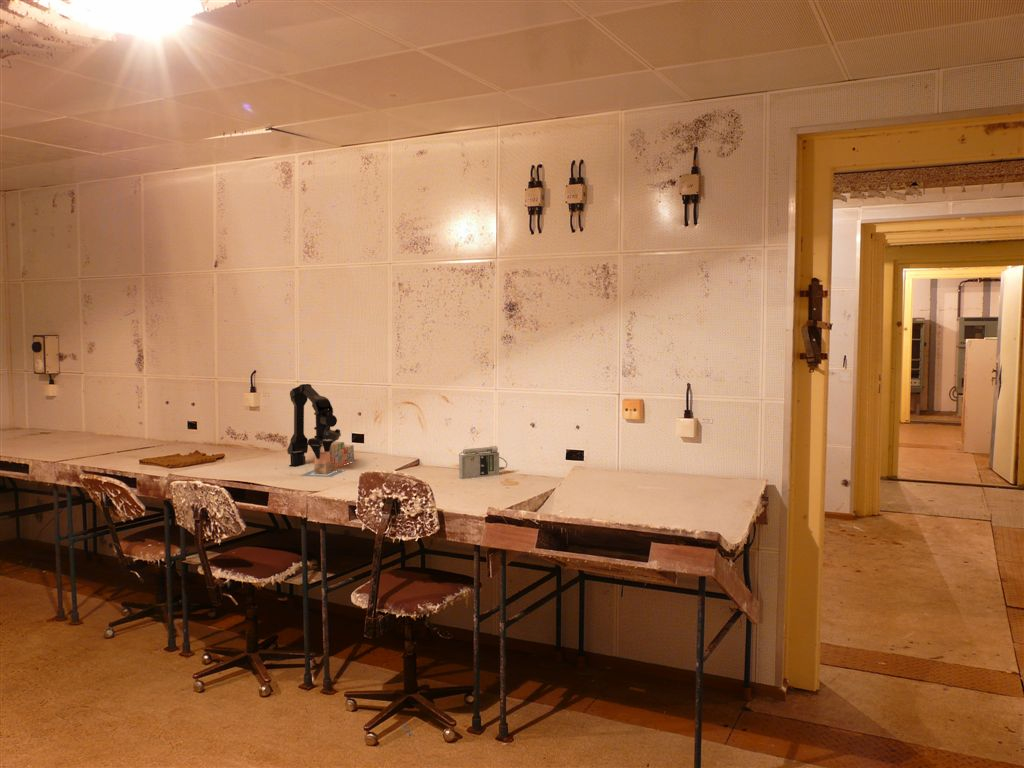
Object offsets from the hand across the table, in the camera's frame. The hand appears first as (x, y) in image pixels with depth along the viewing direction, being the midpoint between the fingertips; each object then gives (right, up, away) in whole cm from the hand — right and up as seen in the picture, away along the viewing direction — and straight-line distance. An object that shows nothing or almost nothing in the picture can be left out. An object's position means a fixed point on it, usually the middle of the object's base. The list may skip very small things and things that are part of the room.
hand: (322, 457), depth 378 cm
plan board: (0, -8, +1) cm, 8 cm away
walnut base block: (0, -8, +1) cm, 8 cm away
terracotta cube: (0, -3, 0) cm, 3 cm away
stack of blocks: (+2, -7, +22) cm, 23 cm away
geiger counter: (+77, -9, -5) cm, 78 cm away
